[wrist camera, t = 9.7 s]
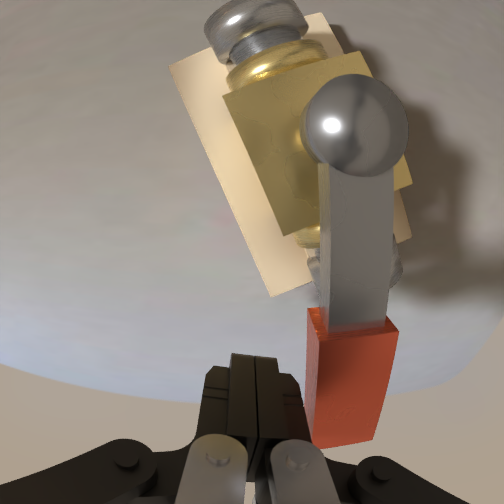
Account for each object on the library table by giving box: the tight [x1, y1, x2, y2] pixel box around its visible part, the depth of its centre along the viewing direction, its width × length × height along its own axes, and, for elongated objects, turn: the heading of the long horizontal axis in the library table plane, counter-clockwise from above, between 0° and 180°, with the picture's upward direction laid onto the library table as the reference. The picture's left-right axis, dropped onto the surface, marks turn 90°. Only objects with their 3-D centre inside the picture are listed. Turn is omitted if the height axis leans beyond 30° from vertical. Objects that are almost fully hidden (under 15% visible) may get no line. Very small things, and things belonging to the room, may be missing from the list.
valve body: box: [204, 0, 413, 297], centre depth 11 cm, size 5×13×8 cm, turn 23°
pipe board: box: [168, 13, 412, 297], centre depth 14 cm, size 9×14×4 cm, turn 23°
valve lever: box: [299, 74, 409, 449], centre depth 8 cm, size 11×2×2 cm, turn 4°
